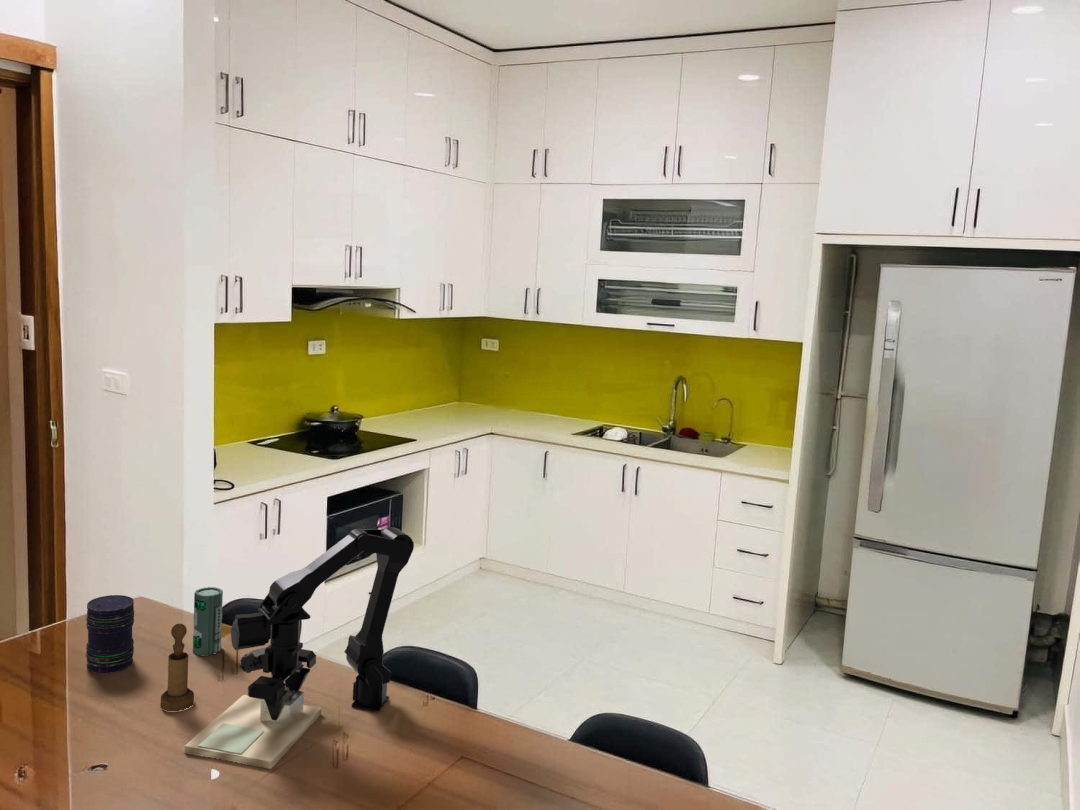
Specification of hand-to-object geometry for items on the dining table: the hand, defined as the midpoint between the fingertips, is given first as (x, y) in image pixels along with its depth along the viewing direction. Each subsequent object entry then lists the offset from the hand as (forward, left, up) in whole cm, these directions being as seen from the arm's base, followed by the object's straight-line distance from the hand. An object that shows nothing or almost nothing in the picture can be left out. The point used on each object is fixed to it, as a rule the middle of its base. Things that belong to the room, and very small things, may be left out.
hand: (282, 712), depth 179 cm
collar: (0, 0, -1) cm, 1 cm away
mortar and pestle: (+24, 0, -3) cm, 24 cm away
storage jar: (+49, -12, -3) cm, 51 cm away
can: (+33, -26, -3) cm, 42 cm away
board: (+3, +5, -2) cm, 6 cm away
